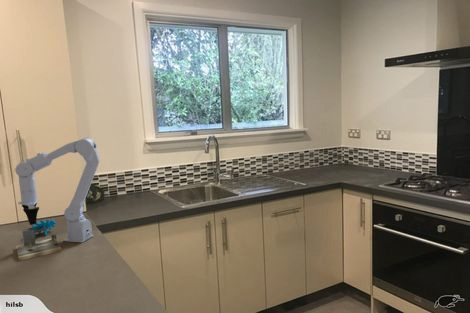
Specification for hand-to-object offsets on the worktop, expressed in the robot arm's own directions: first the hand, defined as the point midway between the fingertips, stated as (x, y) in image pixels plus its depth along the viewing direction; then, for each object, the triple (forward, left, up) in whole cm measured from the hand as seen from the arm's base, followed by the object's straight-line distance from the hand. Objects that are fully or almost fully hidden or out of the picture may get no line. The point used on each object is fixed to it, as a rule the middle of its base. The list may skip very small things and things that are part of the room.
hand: (32, 222), depth 150 cm
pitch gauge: (-8, +6, -9) cm, 13 cm away
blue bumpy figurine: (+6, -10, -10) cm, 15 cm away
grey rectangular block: (-5, +7, -7) cm, 11 cm away
